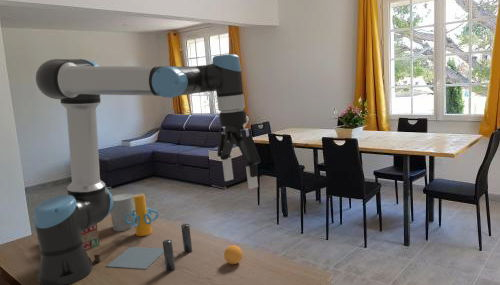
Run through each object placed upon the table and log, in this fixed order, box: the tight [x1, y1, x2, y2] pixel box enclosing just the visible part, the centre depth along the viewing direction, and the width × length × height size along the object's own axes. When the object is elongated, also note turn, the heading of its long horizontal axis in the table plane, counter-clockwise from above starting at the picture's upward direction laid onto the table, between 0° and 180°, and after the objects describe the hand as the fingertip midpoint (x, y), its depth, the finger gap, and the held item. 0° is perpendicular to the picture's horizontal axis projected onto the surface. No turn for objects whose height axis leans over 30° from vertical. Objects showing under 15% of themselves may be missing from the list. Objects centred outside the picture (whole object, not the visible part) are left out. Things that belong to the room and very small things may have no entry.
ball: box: [223, 244, 243, 265], centre depth 120 cm, size 6×6×6 cm
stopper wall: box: [93, 242, 118, 263], centre depth 133 cm, size 2×9×2 cm, turn 164°
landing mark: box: [106, 246, 164, 270], centre depth 129 cm, size 14×14×1 cm
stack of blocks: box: [81, 223, 100, 251], centre depth 147 cm, size 21×6×12 cm, turn 47°
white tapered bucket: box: [110, 192, 136, 232], centre depth 158 cm, size 10×10×12 cm
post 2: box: [181, 223, 193, 254], centre depth 130 cm, size 3×3×9 cm
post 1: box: [162, 239, 176, 273], centre depth 119 cm, size 3×3×9 cm
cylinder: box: [125, 193, 159, 237], centre depth 149 cm, size 12×10×15 cm
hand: (240, 183), depth 115 cm, fingers open, 13 cm apart
